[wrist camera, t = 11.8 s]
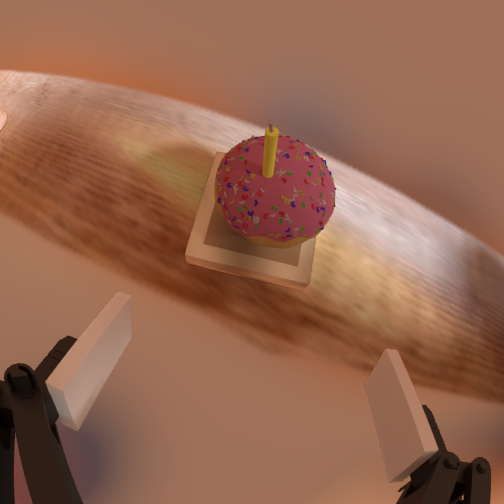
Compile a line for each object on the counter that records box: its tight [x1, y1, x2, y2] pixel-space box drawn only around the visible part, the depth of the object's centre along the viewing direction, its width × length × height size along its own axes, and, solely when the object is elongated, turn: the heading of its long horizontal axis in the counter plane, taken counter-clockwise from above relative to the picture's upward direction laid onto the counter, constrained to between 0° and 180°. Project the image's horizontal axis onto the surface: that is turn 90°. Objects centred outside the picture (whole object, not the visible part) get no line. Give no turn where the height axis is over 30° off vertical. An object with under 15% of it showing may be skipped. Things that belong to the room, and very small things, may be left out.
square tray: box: [185, 152, 316, 290], centre depth 26 cm, size 10×10×3 cm
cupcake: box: [214, 121, 336, 249], centre depth 19 cm, size 9×8×12 cm
